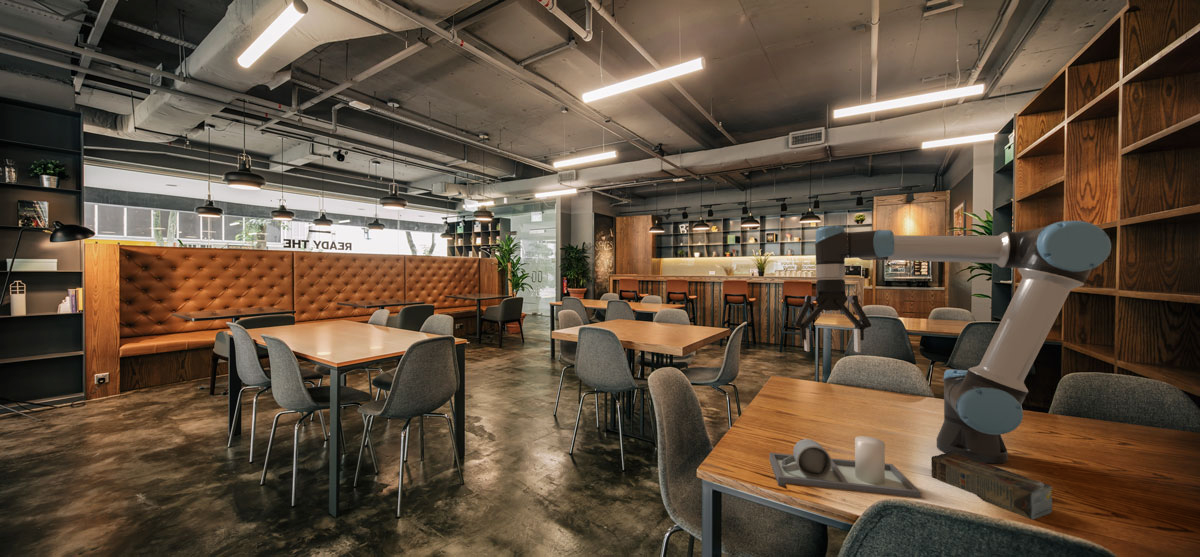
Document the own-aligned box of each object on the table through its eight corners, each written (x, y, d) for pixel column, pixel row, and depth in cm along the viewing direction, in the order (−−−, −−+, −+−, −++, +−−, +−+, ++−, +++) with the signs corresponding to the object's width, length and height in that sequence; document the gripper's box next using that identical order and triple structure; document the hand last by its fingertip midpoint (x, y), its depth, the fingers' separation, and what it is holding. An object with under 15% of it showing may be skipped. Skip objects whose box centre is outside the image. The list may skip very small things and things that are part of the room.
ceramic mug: (822, 466, 109) (822, 436, 109) (832, 481, 101) (832, 448, 101) (778, 463, 112) (777, 433, 112) (784, 477, 104) (783, 445, 104)
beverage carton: (1032, 522, 86) (1032, 489, 86) (928, 481, 104) (928, 453, 104) (1054, 514, 89) (1053, 482, 89) (949, 475, 107) (949, 449, 107)
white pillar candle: (879, 474, 105) (878, 437, 105) (889, 485, 99) (888, 446, 99) (851, 471, 106) (851, 435, 106) (860, 482, 101) (859, 444, 101)
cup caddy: (892, 472, 108) (892, 464, 108) (920, 501, 94) (920, 492, 94) (769, 459, 115) (769, 452, 115) (778, 485, 101) (778, 477, 101)
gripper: (872, 278, 128) (873, 350, 127) (782, 279, 133) (783, 348, 132) (883, 278, 120) (884, 354, 120) (788, 279, 125) (789, 352, 125)
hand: (831, 351), depth 126 cm, fingers open, 13 cm apart
